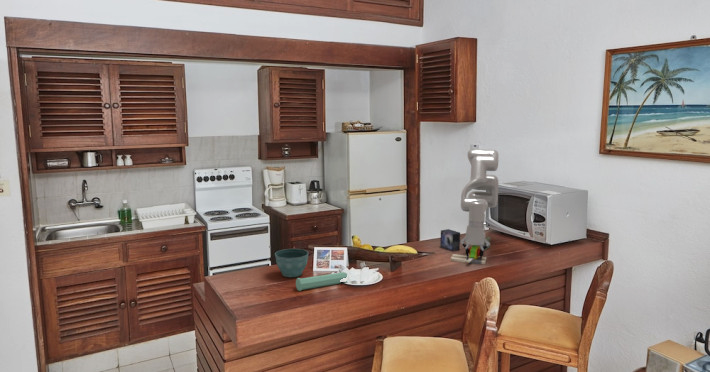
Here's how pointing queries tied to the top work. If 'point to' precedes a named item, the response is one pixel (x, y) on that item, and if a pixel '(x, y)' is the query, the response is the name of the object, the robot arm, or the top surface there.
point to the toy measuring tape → (473, 253)
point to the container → (319, 281)
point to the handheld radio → (485, 243)
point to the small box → (450, 240)
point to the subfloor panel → (463, 257)
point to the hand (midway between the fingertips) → (474, 256)
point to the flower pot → (291, 261)
